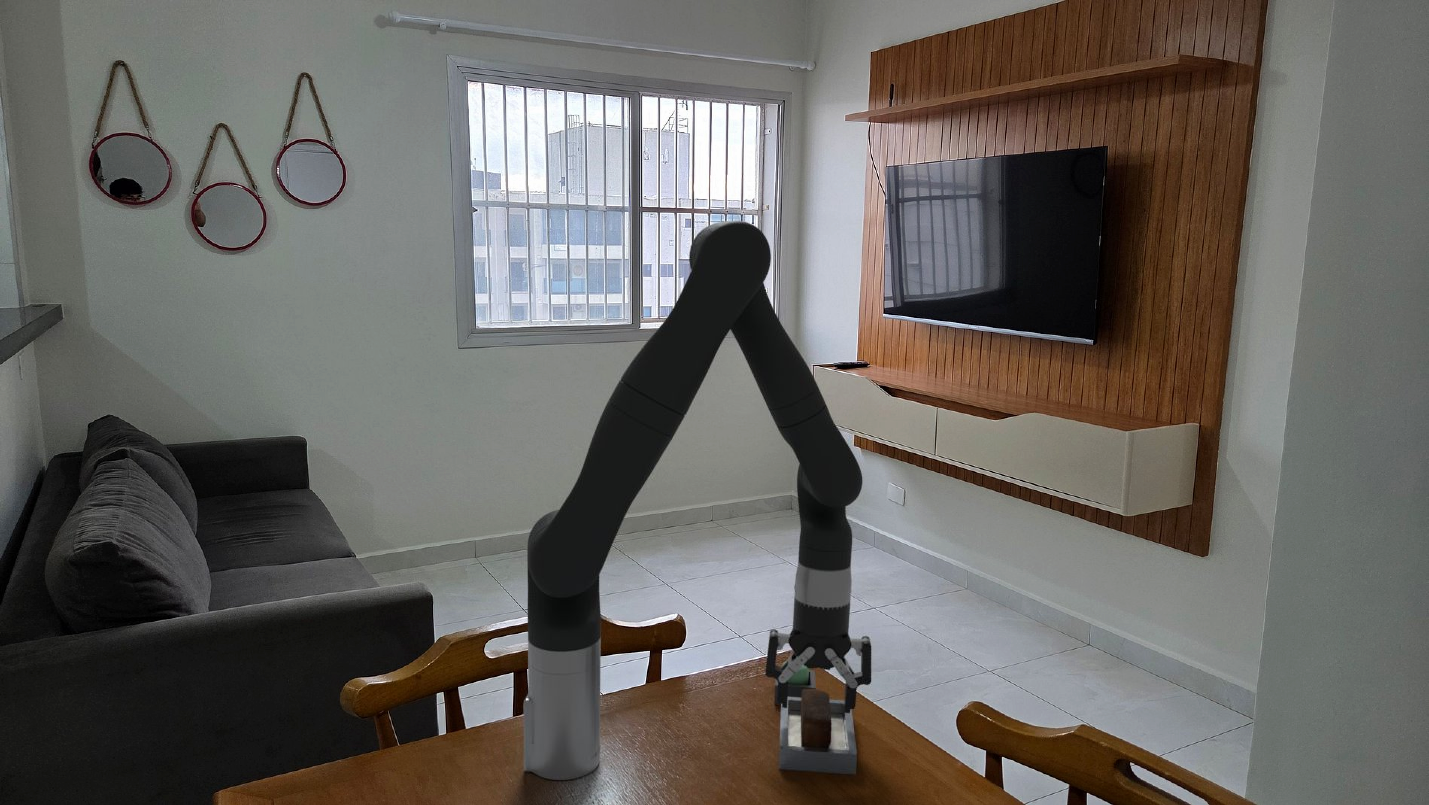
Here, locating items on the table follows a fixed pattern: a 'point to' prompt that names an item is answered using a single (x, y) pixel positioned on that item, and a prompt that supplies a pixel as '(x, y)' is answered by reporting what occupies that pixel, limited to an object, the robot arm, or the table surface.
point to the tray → (817, 759)
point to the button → (800, 676)
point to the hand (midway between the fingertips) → (815, 708)
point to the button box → (797, 687)
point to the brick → (815, 719)
